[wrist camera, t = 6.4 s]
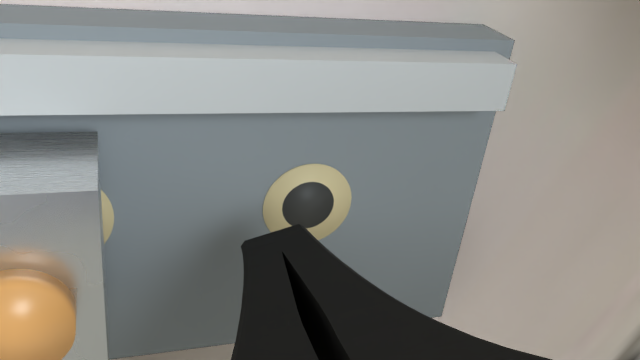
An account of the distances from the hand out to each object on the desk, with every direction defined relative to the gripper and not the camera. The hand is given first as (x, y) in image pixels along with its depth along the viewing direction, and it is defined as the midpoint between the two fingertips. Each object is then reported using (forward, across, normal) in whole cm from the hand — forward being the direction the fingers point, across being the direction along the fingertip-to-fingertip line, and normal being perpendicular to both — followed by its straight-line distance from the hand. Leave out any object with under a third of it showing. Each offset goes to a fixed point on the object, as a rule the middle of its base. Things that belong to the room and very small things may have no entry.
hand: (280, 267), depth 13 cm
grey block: (+2, +5, -1) cm, 6 cm away
